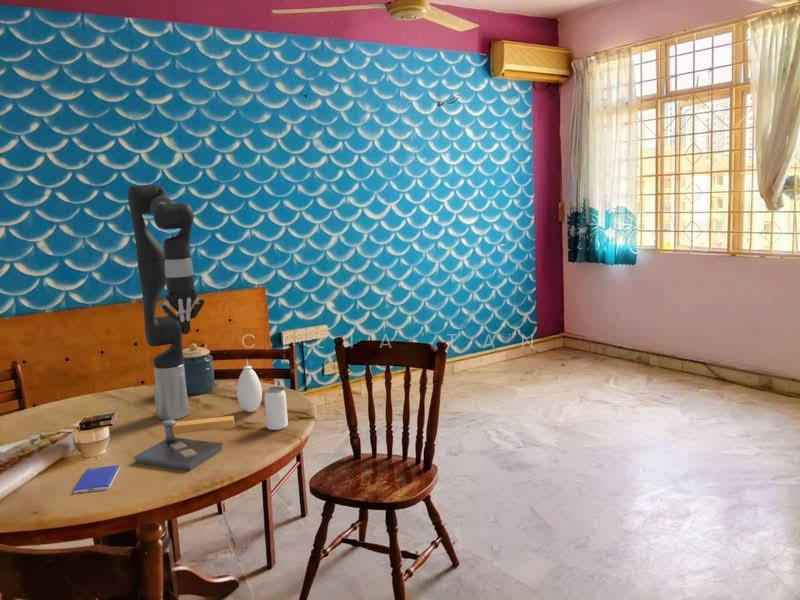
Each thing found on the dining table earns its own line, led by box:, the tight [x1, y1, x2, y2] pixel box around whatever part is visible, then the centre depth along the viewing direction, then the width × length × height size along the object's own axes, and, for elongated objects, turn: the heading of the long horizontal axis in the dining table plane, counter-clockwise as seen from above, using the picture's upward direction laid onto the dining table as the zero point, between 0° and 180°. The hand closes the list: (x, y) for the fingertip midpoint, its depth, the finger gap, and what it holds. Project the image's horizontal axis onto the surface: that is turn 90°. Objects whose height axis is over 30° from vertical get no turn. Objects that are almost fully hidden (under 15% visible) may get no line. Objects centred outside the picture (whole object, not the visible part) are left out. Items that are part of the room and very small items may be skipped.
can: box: [264, 386, 289, 431], centre depth 198 cm, size 6×6×12 cm
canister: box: [183, 343, 216, 396], centre depth 238 cm, size 13×13×18 cm
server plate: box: [134, 437, 223, 472], centre depth 179 cm, size 18×14×2 cm
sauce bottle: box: [236, 359, 263, 413], centre depth 212 cm, size 8×8×18 cm
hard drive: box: [73, 464, 120, 494], centre depth 166 cm, size 2×8×12 cm
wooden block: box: [161, 415, 235, 441], centre depth 187 cm, size 20×4×5 cm, turn 102°
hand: (185, 333), depth 186 cm, fingers closed
